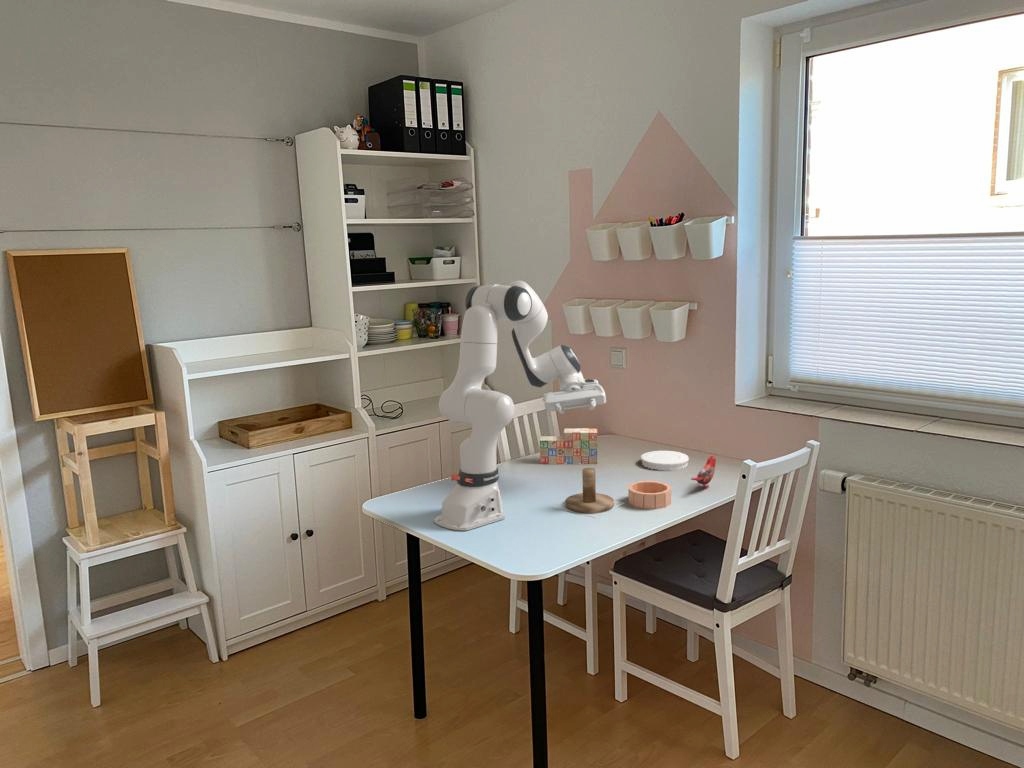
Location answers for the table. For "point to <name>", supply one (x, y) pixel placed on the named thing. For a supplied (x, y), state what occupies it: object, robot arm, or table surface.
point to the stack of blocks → (570, 447)
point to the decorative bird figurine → (706, 472)
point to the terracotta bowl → (649, 494)
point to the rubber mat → (596, 515)
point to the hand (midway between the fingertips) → (576, 409)
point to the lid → (664, 460)
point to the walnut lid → (589, 497)
